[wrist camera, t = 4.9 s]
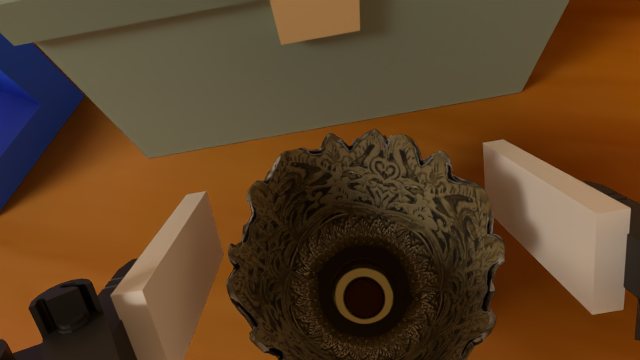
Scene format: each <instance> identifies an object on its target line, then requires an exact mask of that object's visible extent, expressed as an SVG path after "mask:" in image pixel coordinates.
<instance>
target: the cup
mask: <svg viewBox="0 0 640 360" xmlns="http://www.w3.org/2000/svg"><path fill="white" fill-rule="evenodd" d="M431 157H432V158H431ZM428 159H429V160H428ZM426 160H427V161H426ZM423 161H426V162H423ZM451 169H452V164H451V162H450V158H449V157H448V156H447V154H446V152H444V151H438V152H437V153H433V155H430V156H429V157H428V158H426V159H424V160H422V157H421V153H420V150H419V148H418V146H417V144H416V142H415V141H414V140H413V139H411V138H410V137H408V136H407V135H403V134H399V135H391V136H390V138H388V139H387V137H386V136H382V134H381V133H380V132H379V131H378V130H376V129H372V130H370V131H369V132H367V133H365V134H364V135H363V136H362V137H361V138H357V139H355V140H354V141H353V143H352V144H351V146H348V145H347V144H346V143H345V142H344V141H343V139H342V138H339V137H337V136H336V135H334V134H332V133H329V134H327V135H326V137H325V139H324V141H323V143H322V146H321V147H320V149H315V150H308V149H306V148H299V149H295V150H290V151H284V152H283V153H282V154H280V155H279V156H278V158H277V159H276V161H275V162H274V164H273V166H272V168H271V170H270V171H269V172H268V174H267V176H266V178H265V180H264V181H256V182H255V183H254V184H253V185H252V186H251V187H250V189H249V190H248V193H247V202H248V203H249V204H250V207H251V211H252V214H251V217H250V219H249V221H248V223H247V224H245V225H244V226H243V237H242V241H241V242H240V243H237V245H234V244H230V245H229V249H228V255H229V259H230V262H231V263H232V265H233V266H234V268H233V271H232V272H231V274H230V276H229V278H228V279H227V290H228V294H229V297H230V299H231V301H232V303H233V304H234V306H235V307H236V308H237V310H238V311H239V312H240V313H241V314H242V315H243V316H244V317H245V319H246V320H247V321H248V323H249V324H250V326H251V328H252V331H251V332H250V340H251V341H252V342H253V343H254V344H255V345H256V346H257V347H258V348H259V349H260V350H261V351H262V352H263V353H269V354H271V355H274V356H276V357H277V358H278V360H467V358H468V356H469V354H470V352H471V351H472V350H473V348H474V346H475V345H478V344H480V343H481V342H482V341H483V340H484V339H485V338H486V337H487V336H488V335H489V334H490V333H491V331H492V330H493V328H494V326H495V323H496V316H495V315H494V314H493V312H492V309H490V308H489V305H490V301H491V299H492V297H493V295H494V293H495V288H494V274H495V271H496V270H497V268H498V266H499V265H501V264H502V263H504V261H505V244H504V240H503V239H502V238H501V237H500V236H498V235H497V234H494V229H493V222H494V217H493V211H492V208H491V204H490V201H489V199H488V196H487V194H486V192H485V190H484V189H483V188H482V187H481V186H480V185H478V184H476V183H474V182H472V181H469V180H467V179H461V178H459V177H457V176H455V175H452V173H451ZM452 171H453V170H452ZM358 279H369V280H372V281H374V282H375V283H376V284H377V285H378V286H379V287H380V289H381V291H382V294H383V303H382V306H381V308H380V309H379V311H378V312H377V313H375V314H374V315H372V316H369V317H360V316H357V315H355V314H354V313H352V312H351V311H350V310H349V308H348V306H347V304H346V301H345V294H346V290H347V288H348V287H349V285H350V284H351V283H352V282H354V281H356V280H358ZM489 313H490V314H489Z"/></svg>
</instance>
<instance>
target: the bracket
mask: <svg viewBox="0 0 640 360" xmlns="http://www.w3.org/2000/svg"><path fill="white" fill-rule="evenodd" d="M83 98H84V95H83V94H82V93H81V92H80V91H79V90H78V89H77V88H76V87H75V86H74V85H73V84H72V83H71V82H70V81H69V80H68V79H67V78H66V77H65V75H64V74H63V73H62V72H61V71H60V70H59V69H58V68H57V67H56V66H55V65H54V64H53V63H52V62H51V61H50V60H49V59H48V58H47V57H46V56H45V55H44V54H43V53H42V52H41V51H40V50H39V49H38V48H37V47H36V46H35V45H34V44H33V43H27V44H22V45H17V46H14V45H13V44H12V43H11V42H9V41H8V40H7V39H6V38H5V37H4V36H3V35H2V34H1V33H0V210H1V209H2V208H3V206H4V205H5V204H6V202H7V201H8V200H9V198H10V197H11V195H12V194H13V193H14V191H15V190H16V189H17V187H18V186H19V185H20V183H21V182H22V181H23V179H24V178H25V176H26V175H27V174H28V172H29V171H30V170H31V168H32V167H33V166H34V164H35V163H36V161H37V160H38V159H39V157H40V156H41V155H42V153H43V152H44V151H45V149H46V148H47V147H48V145H49V144H50V142H51V141H52V140H53V138H54V137H55V136H56V134H57V133H58V132H59V130H60V129H61V127H62V126H63V125H64V123H65V122H66V121H67V119H68V118H69V117H70V115H71V114H72V113H73V111H74V110H75V108H76V107H77V106H78V104H79V103H80V102H81V100H82V99H83Z"/></svg>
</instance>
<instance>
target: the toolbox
mask: <svg viewBox="0 0 640 360" xmlns="http://www.w3.org/2000/svg"><path fill="white" fill-rule="evenodd" d="M569 1H570V0H0V33H1V34H2V35H3V36H4V37H5V38H6V39H7V40H8V41H9V42H11V43H12V44H13V45H14V46H17V45H22V44H27V43H33V42H34V43H35V44H36V45H37V46H38V47H39V48H40V49H41V50H42V51H43V52H44V53H45V54H46V55H47V56H48V57H49V58H50V59H51V60H52V61H53V62H54V63H55V64H56V65H57V66H58V67H59V68H60V69H61V70H62V71H63V72H64V73H65V74H66V75H67V76H68V77H69V78H70V79H71V80H72V81H73V82H74V83H75V84H76V85H77V86H78V87H79V88H80V89H81V90H82V91H83V92H84V93H85V94H86V95H87V97H88V98H89V99H90V100H91V101H92V102H93V103H94V104H95V105H96V106H97V107H98V108H99V109H100V110H101V111H102V112H103V113H104V114H105V115H106V116H107V117H108V118H109V119H110V120H111V121H112V122H113V123H114V124H115V125H116V126H117V127H118V128H119V129H120V130H121V131H122V132H123V133H124V134H125V135H126V136H127V137H128V138H129V139H130V140H131V141H132V142H133V143H134V144H135V145H136V146H137V147H138V148H139V150H140V151H141V152H142V153H143V154H144V155H145V156H146V157H147V158H154V157H159V156H165V155H171V154H176V153H182V152H188V151H193V150H199V149H204V148H210V147H216V146H221V145H227V144H233V143H238V142H244V141H249V140H255V139H261V138H266V137H272V136H278V135H283V134H289V133H294V132H300V131H306V130H311V129H317V128H323V127H328V126H334V125H339V124H345V123H351V122H356V121H362V120H368V119H373V118H379V117H384V116H390V115H396V114H401V113H407V112H413V111H418V110H424V109H429V108H435V107H441V106H446V105H452V104H458V103H463V102H469V101H474V100H480V99H486V98H491V97H497V96H503V95H508V94H514V93H519V92H522V90H523V88H524V86H525V84H526V82H527V80H528V78H529V77H530V75H531V73H532V71H533V69H534V67H535V65H536V63H537V61H538V59H539V58H540V56H541V54H542V52H543V50H544V48H545V46H546V44H547V42H548V40H549V39H550V37H551V35H552V33H553V31H554V29H555V27H556V25H557V23H558V21H559V20H560V18H561V16H562V14H563V12H564V10H565V8H566V6H567V4H568V2H569Z"/></svg>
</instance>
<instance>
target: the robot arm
mask: <svg viewBox="0 0 640 360" xmlns="http://www.w3.org/2000/svg"><path fill="white" fill-rule="evenodd" d="M483 159H484V179H485V192H486V194H487V196H488V199H489V201H490V204H491V208H492V211H493V217H494V218H495V219H496V220H497V221H498V222H499V223H500V224H501V225H502V226H503V227H504V228H505V229H506V230H507V231H508V232H509V233H510V234H511V235H512V236H513V237H514V238H515V239H516V240H517V241H518V242H519V243H520V244H521V245H522V246H523V247H524V248H525V249H526V250H527V251H528V252H529V253H530V254H531V255H532V256H533V257H534V258H535V259H536V260H537V261H538V262H539V263H540V264H541V265H542V266H543V267H544V268H545V269H546V270H548V271H549V272H550V273H551V274H552V275H553V276H554V277H555V278H556V279H557V280H558V281H559V282H560V283H561V284H562V285H563V286H564V287H565V288H566V289H567V290H568V291H569V292H570V293H571V294H572V295H573V296H574V297H575V298H576V299H577V300H578V301H579V302H580V303H581V304H582V305H583V306H584V307H585V308H586V309H587V310H588V311H589V312H590V313H591V314H592V315H594V314H601V313H607V312H613V311H619V310H624V297H625V288H626V289H627V290H628V291H630V292H631V293H632V294H633V295H635V296H636V297H637V298H638V306H637V318H636V329H635V340H640V204H639V203H637V202H635V201H633V200H631V199H628V198H627V197H625V196H623V195H621V194H617V192H615V191H613V190H612V189H610V188H608V187H606V186H603V185H600V184H596V183H592V182H588V181H583V182H581V181H579V180H578V179H576V178H574V177H572V176H570V175H568V174H566V173H565V172H563V171H561V170H559V169H557V168H555V167H554V166H552V165H550V164H548V163H546V162H544V161H542V160H541V159H539V158H537V157H535V156H533V155H531V154H529V153H528V152H526V151H524V150H522V149H520V148H518V147H516V146H515V145H513V144H511V143H509V142H507V141H505V140H503V139H502V140H496V141H491V142H485V143H483ZM223 255H224V253H223V249H222V246H221V242H220V239H219V235H218V231H217V228H216V224H215V221H214V217H213V214H212V210H211V206H210V203H209V199H208V196H207V192H206V191H204V192H198V193H193V194H187V195H186V196H185V197H184V199H183V200H182V201H181V203H180V204H179V205H178V207H177V208H176V209H175V211H174V212H173V213H172V215H171V216H170V217H169V219H168V220H167V221H166V223H165V224H164V225H163V227H162V228H161V229H160V230H159V232H158V233H157V234H156V236H155V237H154V238H153V240H152V241H151V242H150V244H149V245H148V246H147V248H146V249H145V250H144V252H143V253H142V254H141V256H140V257H139V258H138V259H133V260H131V261H130V262H128V263H127V264H125V265H124V266H123V267H121V268H120V269H119V270H118V271H117V272H116V274H115V275H114V276H113V277H112V279H111V281H109V282H108V284H107V285H106V286H105V289H103V290H102V291H101V292H100V293H99V295H98V296H97V294H96V292H95V289H94V287H93V284H92V282H91V281H90V280H89V279H76V280H71V281H67V282H64V283H61V284H59V285H56V286H54V287H52V288H50V289H48V290H46V291H45V292H43V293H42V294H40V295H38V296H37V297H36V298H35V299H34V300H33V301H32V302H31V304H30V306H29V310H30V312H31V314H32V316H33V318H34V321H35V323H36V325H37V327H38V329H39V331H40V333H41V335H42V337H43V343H41V344H39V345H36V346H33V347H30V348H27V349H24V350H21V351H18V352H15V353H13V354H12V352H11V350H10V348H9V346H8V344H7V343H6V342H5V341H4V340H2V339H0V360H184V358H185V355H186V353H187V350H188V347H189V345H190V342H191V339H192V337H193V334H194V332H195V329H196V326H197V324H198V321H199V318H200V316H201V313H202V311H203V308H204V305H205V303H206V300H207V297H208V295H209V292H210V290H211V287H212V284H213V282H214V279H215V276H216V274H217V271H218V268H219V266H220V263H221V261H222V258H223Z"/></svg>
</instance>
